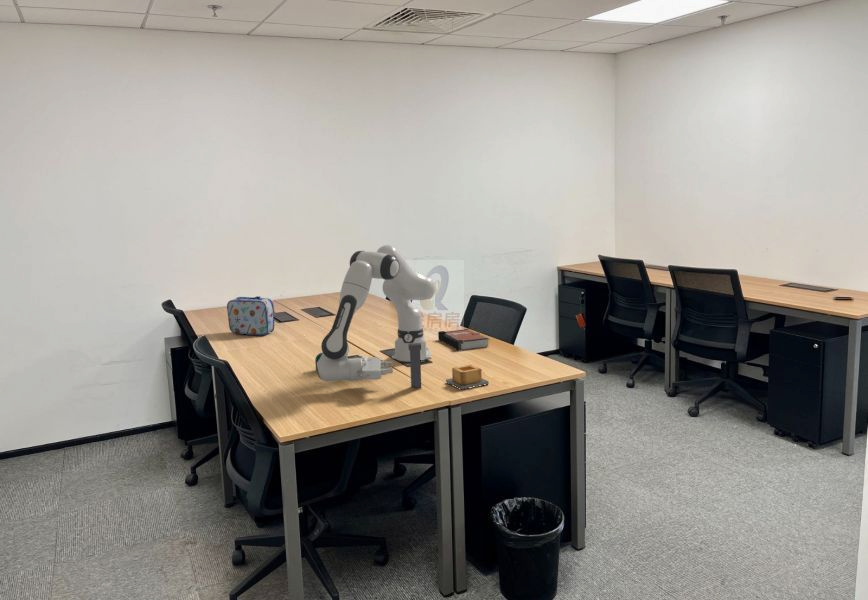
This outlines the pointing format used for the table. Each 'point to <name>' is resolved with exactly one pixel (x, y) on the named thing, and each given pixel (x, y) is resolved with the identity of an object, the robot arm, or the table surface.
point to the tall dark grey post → (415, 364)
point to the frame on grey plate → (466, 377)
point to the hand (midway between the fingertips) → (392, 367)
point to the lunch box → (251, 315)
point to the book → (463, 339)
